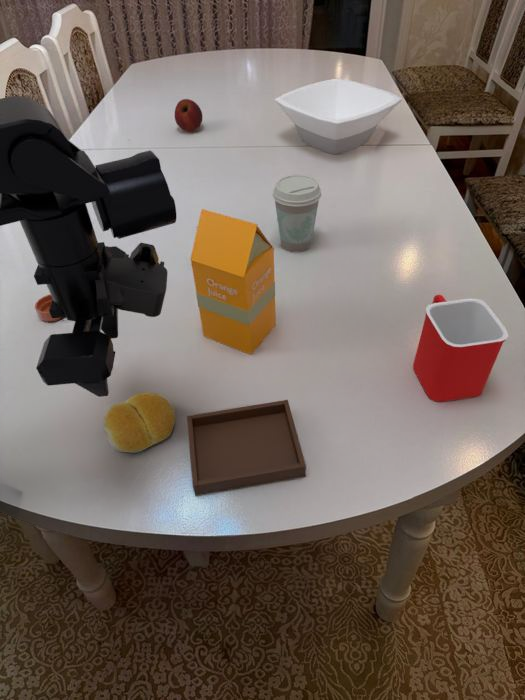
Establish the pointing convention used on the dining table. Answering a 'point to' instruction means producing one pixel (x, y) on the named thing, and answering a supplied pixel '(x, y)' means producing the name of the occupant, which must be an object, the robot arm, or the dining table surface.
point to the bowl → (337, 113)
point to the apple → (188, 115)
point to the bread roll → (139, 422)
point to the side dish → (45, 308)
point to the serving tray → (244, 447)
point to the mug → (457, 348)
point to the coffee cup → (296, 210)
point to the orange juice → (233, 281)
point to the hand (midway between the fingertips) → (109, 364)
